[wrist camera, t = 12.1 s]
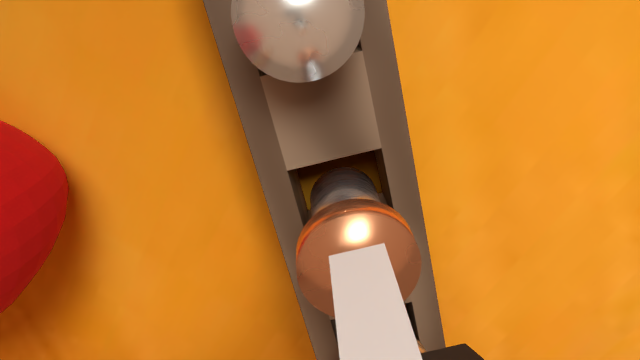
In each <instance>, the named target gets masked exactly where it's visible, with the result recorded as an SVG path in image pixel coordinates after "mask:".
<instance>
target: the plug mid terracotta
mask: <svg viewBox="0 0 640 360" xmlns="http://www.w3.org/2000/svg"><path fill="white" fill-rule="evenodd" d="M310 198H311V213H312V218H311V219H310V220H309V221H308V222H307V223H306V225H305V226H304V228H303V229H302V231H301V233H300V236H299V238H298V242H297V248H296V272H297V280H298V284H299V287H300V289H301V291H302V293H303V295H304V296H305V297H306V299H307V300H308V301H309V302H310V303H311V304H312V305H313V306H314V307H316V308H317V309H318V310H320V311H322V312H323V313H325V314H327V315H330V316H332V317H335V311H334V302H333V292H332V283H331V274H330V264H329V256H330V255H335V254H339V253H343V252H348V251H352V250H356V249H361V248H365V247H369V246H373V245H378V244H382V243H384V244H385V247H386V250H387V253H388V256H389V259H390V262H391V265H392V268H393V271H394V274H395V277H396V280H397V283H398V286H399V289H400V293H401V296H402V299H403V302H404V301H405V300H406V299H407V298H408V297H409V295H410V294H411V293H412V291H413V290H414V288H415V286H416V285H417V283H418V280H419V277H420V273H421V264H422V262H421V254H420V250H419V248H418V245H417V243H416V241H415V239H414V236H413V234H412V232H411V230H410V227H409V225H408V224H407V222H406V221H405V219H404V218H403V217H402V216H401V215H400V214H399V213H398V212H397V211H396V210H394V209H393V208H391V207H390V206H388V205H386V204H383V203H381V202H380V199H379V196H378V194H377V191H376V188H375V186H374V184H373V182H372V180H371V179H370V178H369V177H368V176H367V175H366V174H365V173H364V172H362V171H360V170H358V169H355V168H351V167H339V168H335V169H332V170H329V171H327V172H326V173H324V174H323V175H321V176H320V177H319V178H318V180H317V181H316V182H315V184H314V186H313V188H312V191H311V197H310Z"/></svg>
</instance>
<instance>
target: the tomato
mask: <svg viewBox="0 0 640 360" xmlns="http://www.w3.org/2000/svg"><path fill="white" fill-rule="evenodd" d="M68 190H69V188H68V182H67V177H66V174H65V172H64V170H63V168H62V166H61V165H60V163H59V161H58V159H57V158H56V157H55V156H54V155H53V154H52V153H51V152H50V151H49V150H48V149H47V148H45V147H44V146H43V145H41V144H40V143H39V142H37V141H36V140H35V139H33V138H32V137H30V136H29V135H27V134H25V133H24V132H22V131H21V130H19V129H17V128H15V127H13V126H11V125H9V124H7V123H5V122H3V121H0V313H1V312H3V311H4V310H5V309H6V308H7V307H8V306H10V305H11V304H12V303H13V302H14V301H15V299H16V298H17V297H18V296H19V295H20V293H21V292H22V291H23V290H24V289H25V287H26V286H27V285H28V284H29V282H30V281H31V280H32V278H33V277H34V276H35V274H36V273H37V272H38V270H39V269H40V268H41V266H42V265H43V263H44V261H45V260H46V258H47V257H48V255H49V254H50V252H51V250H52V248H53V246H54V243H55V241H56V239H57V237H58V235H59V232H60V230H61V227H62V224H63V222H64V219H65V214H66V203H67V197H68Z"/></svg>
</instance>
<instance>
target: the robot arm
mask: <svg viewBox="0 0 640 360" xmlns="http://www.w3.org/2000/svg"><path fill="white" fill-rule="evenodd" d="M329 264H330V274H331V283H332V292H333V302H334V311H335V320H336V329H337V339H338V348H339V357H340V360H484V359H483V358H482V357H481V356H479V355H478V354H477V353H476V352H475V351H474V350H472V349H471V348H470V347H469V346H468V345H466V344H460V345H456V346H451V347H447V348H442V349H437V350H433V351H428V352H424V353H420V351H419V347H418V344H417V341H416V338H415V335H414V332H413V329H412V326H411V323H410V320H409V317H408V314H407V311H406V308H405V305H404V302H403V299H402V296H401V293H400V289H399V286H398V283H397V280H396V277H395V274H394V271H393V268H392V265H391V262H390V259H389V256H388V253H387V250H386V247H385V244H384V243H382V244H378V245H373V246H369V247H365V248H361V249H356V250H352V251H348V252H343V253H339V254H335V255H330V256H329Z"/></svg>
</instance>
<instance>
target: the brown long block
mask: <svg viewBox="0 0 640 360" xmlns="http://www.w3.org/2000/svg"><path fill="white" fill-rule="evenodd" d="M203 2H204V5H205V9H206V12H207V15H208V18H209V21H210V24H211V28H212V31H213V34H214V37H215V40H216V43H217V46H218V50H219V53H220V56H221V59H222V62H223V65H224V69H225V72H226V75H227V78H228V81H229V84H230V87H231V91H232V94H233V97H234V100H235V103H236V106H237V110H238V113H239V116H240V119H241V122H242V125H243V129H244V132H245V135H246V138H247V141H248V144H249V147H250V151H251V154H252V157H253V160H254V163H255V166H256V170H257V173H258V176H259V179H260V182H261V185H262V188H263V192H264V195H265V198H266V201H267V204H268V207H269V211H270V214H271V217H272V220H273V223H274V226H275V230H276V233H277V236H278V239H279V242H280V245H281V248H282V252H283V255H284V258H285V261H286V264H287V267H288V271H289V274H290V277H291V280H292V283H293V286H294V289H295V293H296V296H297V299H298V302H299V305H300V308H301V312H302V315H303V318H304V321H305V324H306V327H307V330H308V334H309V337H310V340H311V343H312V346H313V349H314V353H315V356H316V359H317V360H340V357H339V348H338V339H337V329H336V320H335V317H332V316H330V315H327V314H325V313H323V312H322V311H320V310H318V309H317V308H316V307H314V306H313V305H312V304H311V303H310V302H309V301H308V300H307V299H306V297H305V296H304V295H303V293H302V291H301V289H300V287H299V284H298V280H297V272H296V248H297V242H298V238H299V236H300V233H301V231H302V229H303V228H304V226H305V225H306V223H307V222H308V221H309V220H310V219H311V218H312V213H311V209H310V210H308V209H307V205H306V202H305V198H304V195H303V191H302V187H301V184H300V180H299V177H298V173H297V170H296V169H297V168H301V167H305V166H309V165H313V164H317V163H321V162H326V161H330V160H334V159H338V158H342V157H346V156H351V155H355V154H359V153H363V152H367V151H371V150H374V152H375V157H376V162H377V167H378V172H379V176H380V181H381V186H382V191H383V192H382V193H378V196H379V199H380V202H381V203H383V204H386V205H388V206H390V207H391V208H393V209H394V210H396V211H397V212H398V213H399V214H400V215H401V216H402V217H403V218H404V219H405V221H406V222H407V224H408V225H409V227H410V230H411V232H412V234H413V236H414V239H415V241H416V243H417V245H418V248H419V250H420V254H421V262H422V264H421V273H420V277H419V280H418V283H417V285H416V286H415V288H414V290H413V291H412V293H411V294H410V295H409V297H408V298H407V299H406V300H405V301H404V303H406V308H407V314H408V317H409V320H410V323H411V326H412V329H413V332H414V335H415V338H416V339H417V340H418V341H419V342H420V343H421V344H422V345H423V346H424V348H425V350H426V352H428V351H433V350H437V349H442V348H446V347H445V341H444V335H443V329H442V323H441V317H440V311H439V306H438V300H437V294H436V288H435V282H434V276H433V270H432V265H431V259H430V253H429V247H428V241H427V235H426V229H425V224H424V218H423V212H422V206H421V200H420V194H419V188H418V183H417V177H416V171H415V165H414V159H413V153H412V148H411V142H410V136H409V130H408V124H407V118H406V112H405V107H404V101H403V95H402V89H401V83H400V77H399V71H398V66H397V60H396V54H395V48H394V42H393V36H392V30H391V25H390V19H389V13H388V7H387V1H386V0H364V8H365V19H364V27H363V31H362V35H361V38H360V40H359V43H358V45H357V47H356V49H355V50H354V52H353V53H352V55H351V56H350V58H349V59H348V60H347V61H346V62H345V63H344V64H343V65H342V66H341V67H340V68H339V69H337V70H336V71H335V72H333V73H331V74H330V75H328V76H326V77H324V78H321V79H318V80H315V81H310V82H301V83H296V82H287V81H283V80H279V79H276V78H274V77H272V76H270V75H268V74H266V73H264V72H263V71H261V70H260V69H258V68H257V67H256V66H255V65H254V64H253V63H252V62H251V61H250V60H249V59H248V58H247V57H246V55H245V54H244V52H243V51H242V49H241V47H240V46H239V44H238V42H237V39H236V36H235V34H234V30H233V26H232V19H231V3H232V0H203Z"/></svg>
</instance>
